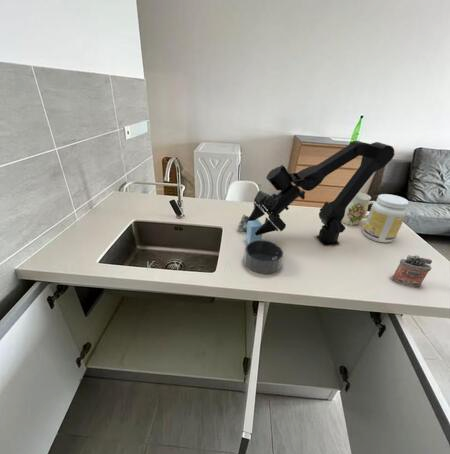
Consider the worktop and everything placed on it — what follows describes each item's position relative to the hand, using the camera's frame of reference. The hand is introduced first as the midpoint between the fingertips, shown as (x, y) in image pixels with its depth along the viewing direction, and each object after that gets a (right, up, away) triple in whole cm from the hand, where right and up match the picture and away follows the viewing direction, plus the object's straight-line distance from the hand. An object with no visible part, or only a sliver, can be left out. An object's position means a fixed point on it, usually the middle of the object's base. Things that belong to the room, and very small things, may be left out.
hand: (251, 228), depth 89 cm
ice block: (+1, -6, +4) cm, 7 cm away
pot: (+3, -13, -7) cm, 15 cm away
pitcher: (+49, +4, +24) cm, 55 cm away
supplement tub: (+55, -3, +14) cm, 57 cm away
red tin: (+48, -18, -12) cm, 53 cm away
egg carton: (0, 0, +14) cm, 14 cm away
